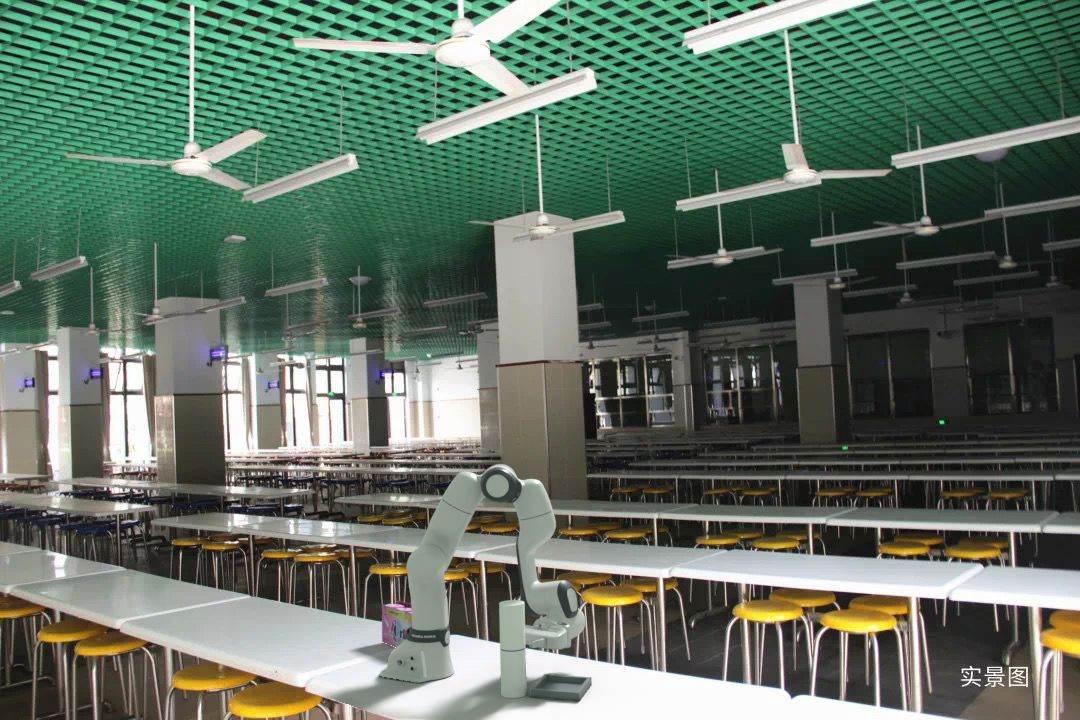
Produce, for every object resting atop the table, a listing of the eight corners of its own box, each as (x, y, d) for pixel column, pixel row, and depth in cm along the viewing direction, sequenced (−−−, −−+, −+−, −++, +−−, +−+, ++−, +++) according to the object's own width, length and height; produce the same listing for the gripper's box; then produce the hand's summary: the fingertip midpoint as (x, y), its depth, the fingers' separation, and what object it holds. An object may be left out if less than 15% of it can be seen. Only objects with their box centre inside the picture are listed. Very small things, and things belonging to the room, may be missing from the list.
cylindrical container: (506, 699, 224) (504, 606, 225) (497, 692, 230) (495, 601, 232) (530, 695, 226) (528, 603, 228) (520, 688, 233) (518, 599, 235)
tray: (530, 697, 225) (530, 689, 225) (545, 681, 238) (544, 674, 238) (579, 701, 221) (579, 692, 221) (591, 685, 234) (591, 677, 234)
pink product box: (379, 642, 287) (378, 603, 288) (399, 638, 292) (398, 599, 293) (414, 656, 268) (413, 614, 269) (434, 651, 273) (434, 610, 274)
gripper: (519, 616, 249) (490, 626, 238) (574, 625, 237) (546, 636, 226) (519, 638, 248) (490, 648, 237) (575, 647, 236) (546, 659, 225)
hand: (518, 642), depth 231 cm, fingers open, 8 cm apart
